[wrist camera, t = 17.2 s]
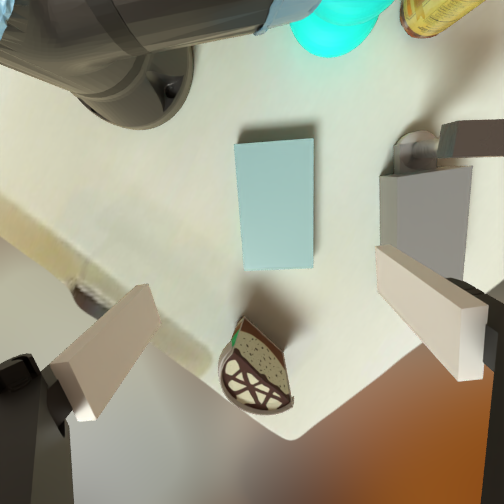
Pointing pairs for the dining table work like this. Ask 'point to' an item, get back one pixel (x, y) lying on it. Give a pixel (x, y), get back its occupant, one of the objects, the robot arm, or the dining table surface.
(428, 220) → the case
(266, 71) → the dining table surface
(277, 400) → the food container
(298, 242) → the cover
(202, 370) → the dining table surface
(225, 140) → the dining table surface
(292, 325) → the dining table surface
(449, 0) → the sauce bottle
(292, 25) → the donuts
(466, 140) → the key
